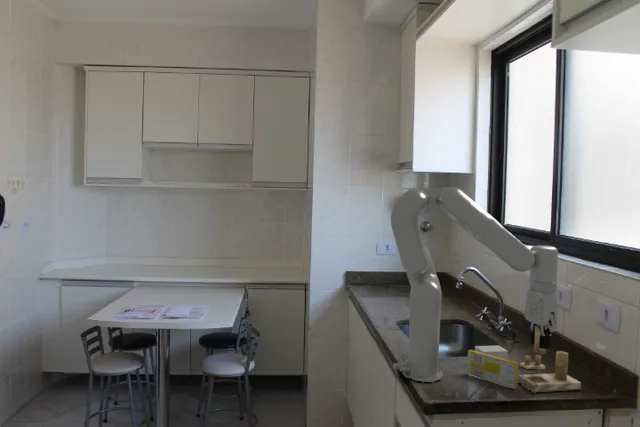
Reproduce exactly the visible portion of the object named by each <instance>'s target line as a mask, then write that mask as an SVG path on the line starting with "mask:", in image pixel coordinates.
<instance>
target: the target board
mask: <svg viewBox="0 0 640 427" xmlns="http://www.w3.org/2000/svg"><path fill="white" fill-rule="evenodd" d="M568 365H569V352H566V351H563V350H556V352H555V367H554V373H536V374H535V373H534V374H532V373H531V374H518V376H517V383H518V382H519V383H521V384H523V385H524V386H526V387H527V388H529V389H531V390H532V391H544V390H563V389H564V390H565V389H581V390H582V382H581V381H578V380H577V379H576V378H574V377H572V376H570V375H568V369H569V368H568ZM519 383H518V384H519Z"/></svg>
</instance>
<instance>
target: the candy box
mask: <svg viewBox="0 0 640 427" xmlns="http://www.w3.org/2000/svg"><path fill="white" fill-rule="evenodd" d="M466 362H467V364H466V365H467V366H466V374H467V373H468V374H471V375H474V376H477V377H480V378H483V379H486V380H489V381H492V382H495V383H499V384H502V385H505V386H508V387H511V388H516V387H517V388H518V375H519V374H518V373H519V372H518V371H519V362H518V361H514V360H510V359H508V360H507V359H503V358H499V357H495V356H492V355H488V354H484V353H481V352H477V351H475V350H473V349H468V350H467V361H466Z"/></svg>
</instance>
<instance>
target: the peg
mask: <svg viewBox="0 0 640 427" xmlns="http://www.w3.org/2000/svg"><path fill="white" fill-rule="evenodd" d="M546 329H547V327H545V330H546ZM540 335H541V326H539V325H535V339H534V344H533V352H534V353H536V354H538V355H545V354H547V348H545V349H541V348H539V338H540Z"/></svg>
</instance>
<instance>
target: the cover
mask: <svg viewBox="0 0 640 427" xmlns="http://www.w3.org/2000/svg"><path fill="white" fill-rule="evenodd" d="M474 351H477V352H481V353H484V354H488V355H492V356H495V357H499V358H503V359H507V360H509V351H508V350H507V349H506V348H504V347H502V346H501V345H475V346H474Z"/></svg>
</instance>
